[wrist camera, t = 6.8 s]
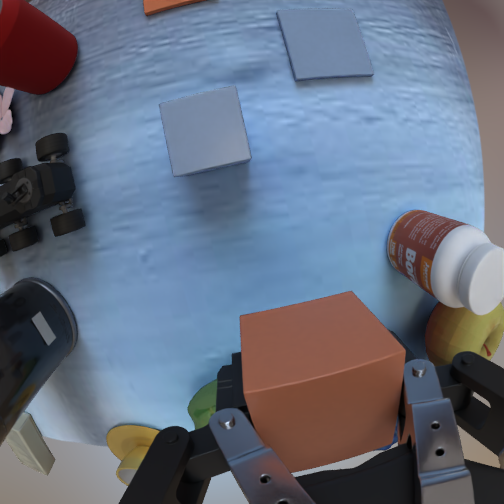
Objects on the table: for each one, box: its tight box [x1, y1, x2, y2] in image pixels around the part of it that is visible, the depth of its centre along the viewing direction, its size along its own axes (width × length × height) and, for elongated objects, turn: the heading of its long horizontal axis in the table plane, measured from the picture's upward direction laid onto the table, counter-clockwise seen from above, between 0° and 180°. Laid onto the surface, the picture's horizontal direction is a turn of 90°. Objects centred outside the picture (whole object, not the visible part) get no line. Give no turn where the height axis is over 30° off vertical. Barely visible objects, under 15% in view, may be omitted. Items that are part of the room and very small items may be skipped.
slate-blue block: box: [159, 85, 252, 177], centre depth 20 cm, size 5×5×5 cm
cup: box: [106, 425, 160, 486], centre depth 28 cm, size 12×12×5 cm
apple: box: [425, 301, 504, 366], centre depth 23 cm, size 10×10×8 cm
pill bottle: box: [387, 210, 504, 315], centre depth 20 cm, size 6×6×11 cm
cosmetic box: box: [5, 412, 55, 475], centre depth 29 cm, size 6×4×12 cm
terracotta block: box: [240, 291, 406, 473], centre depth 11 cm, size 5×5×5 cm
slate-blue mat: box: [276, 8, 374, 81], centre depth 20 cm, size 7×7×1 cm
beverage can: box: [0, 0, 78, 95], centre depth 13 cm, size 7×7×12 cm
